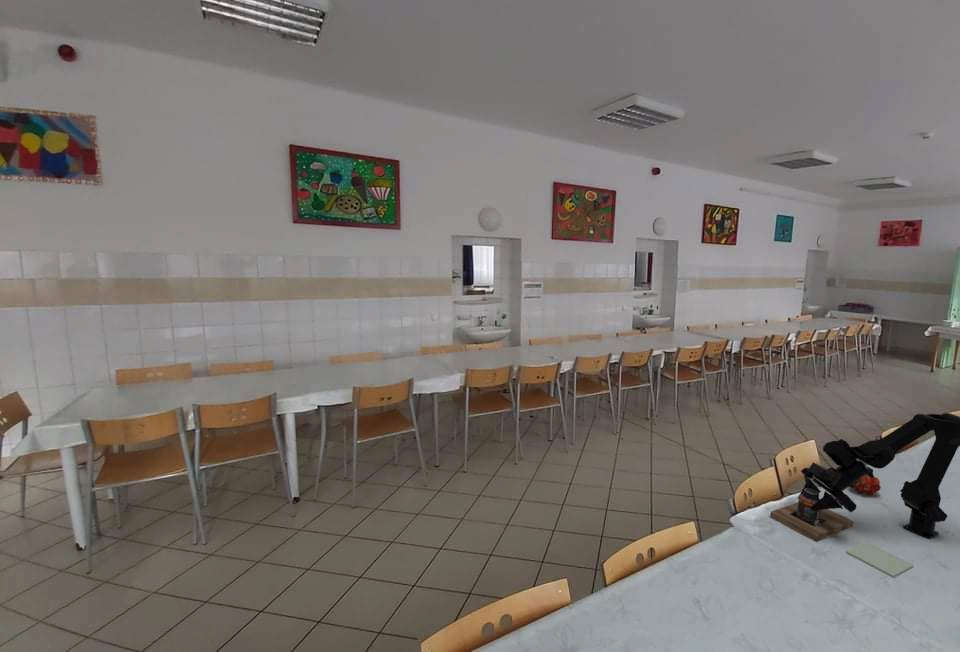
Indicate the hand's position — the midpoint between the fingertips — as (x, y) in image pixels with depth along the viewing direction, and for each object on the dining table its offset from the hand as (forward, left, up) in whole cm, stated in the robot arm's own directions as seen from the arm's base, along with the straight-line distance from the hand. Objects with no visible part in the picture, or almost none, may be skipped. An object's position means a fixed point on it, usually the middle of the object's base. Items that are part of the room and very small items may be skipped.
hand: (805, 504), depth 140 cm
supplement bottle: (-1, +1, -7) cm, 7 cm away
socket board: (-3, +1, -7) cm, 7 cm away
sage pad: (-1, +20, -7) cm, 21 cm away
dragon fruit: (-43, -3, -7) cm, 44 cm away
